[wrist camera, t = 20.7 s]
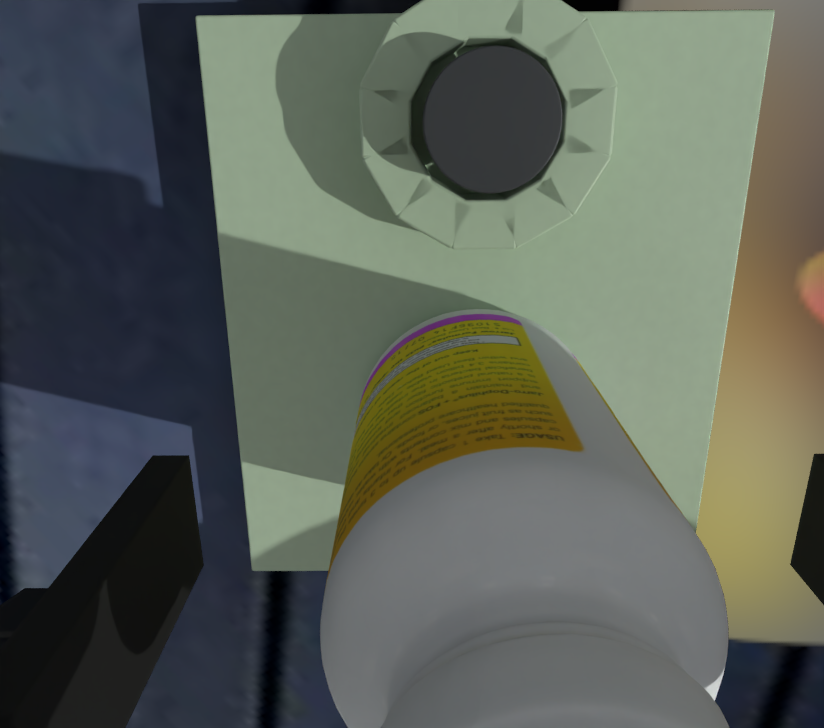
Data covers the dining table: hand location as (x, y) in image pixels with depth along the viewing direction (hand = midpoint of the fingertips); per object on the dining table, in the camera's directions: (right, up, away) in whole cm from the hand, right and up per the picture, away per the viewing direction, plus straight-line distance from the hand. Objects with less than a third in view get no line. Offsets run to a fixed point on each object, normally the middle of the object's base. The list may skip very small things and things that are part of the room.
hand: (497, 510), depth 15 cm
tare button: (0, +9, +2) cm, 9 cm away
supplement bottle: (0, +2, +6) cm, 6 cm away
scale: (0, +4, +6) cm, 7 cm away
